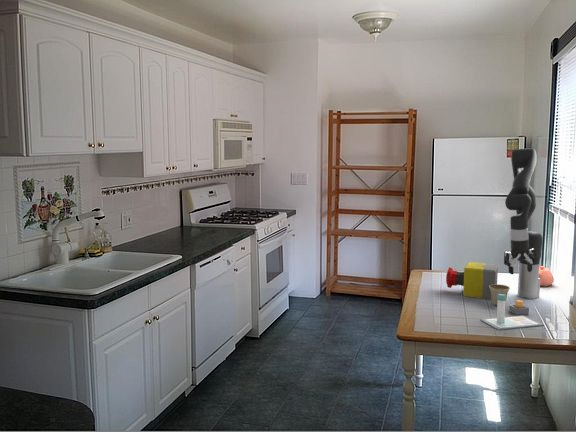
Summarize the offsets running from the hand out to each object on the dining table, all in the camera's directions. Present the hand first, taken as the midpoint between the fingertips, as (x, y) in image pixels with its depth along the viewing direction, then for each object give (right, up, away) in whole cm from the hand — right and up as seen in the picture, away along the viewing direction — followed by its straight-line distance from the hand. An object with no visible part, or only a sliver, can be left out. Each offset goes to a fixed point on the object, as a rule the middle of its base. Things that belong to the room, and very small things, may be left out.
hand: (520, 272), depth 249 cm
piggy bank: (+32, -12, +50) cm, 60 cm away
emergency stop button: (-11, -15, +34) cm, 39 cm away
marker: (-14, -20, -12) cm, 27 cm away
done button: (0, -17, +2) cm, 17 cm away
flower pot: (-4, -17, +16) cm, 24 cm away
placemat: (-9, -21, -11) cm, 25 cm away
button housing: (0, -19, +2) cm, 19 cm away
